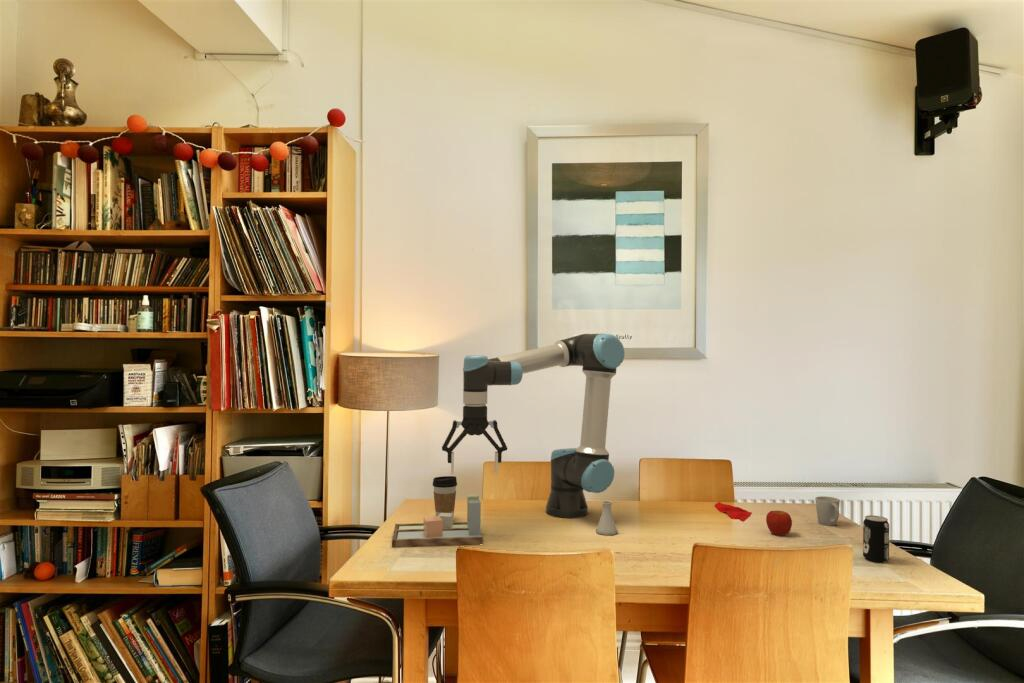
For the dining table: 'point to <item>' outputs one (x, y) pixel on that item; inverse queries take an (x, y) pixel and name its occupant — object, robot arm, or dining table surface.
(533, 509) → the dining table surface
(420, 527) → the grey l-shaped bracket
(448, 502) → the coffee cup
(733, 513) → the cloth
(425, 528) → the terracotta cube
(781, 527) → the apple
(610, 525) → the flask
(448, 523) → the grey cube
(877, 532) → the beverage can
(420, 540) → the lane frame
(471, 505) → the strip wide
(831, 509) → the cup
